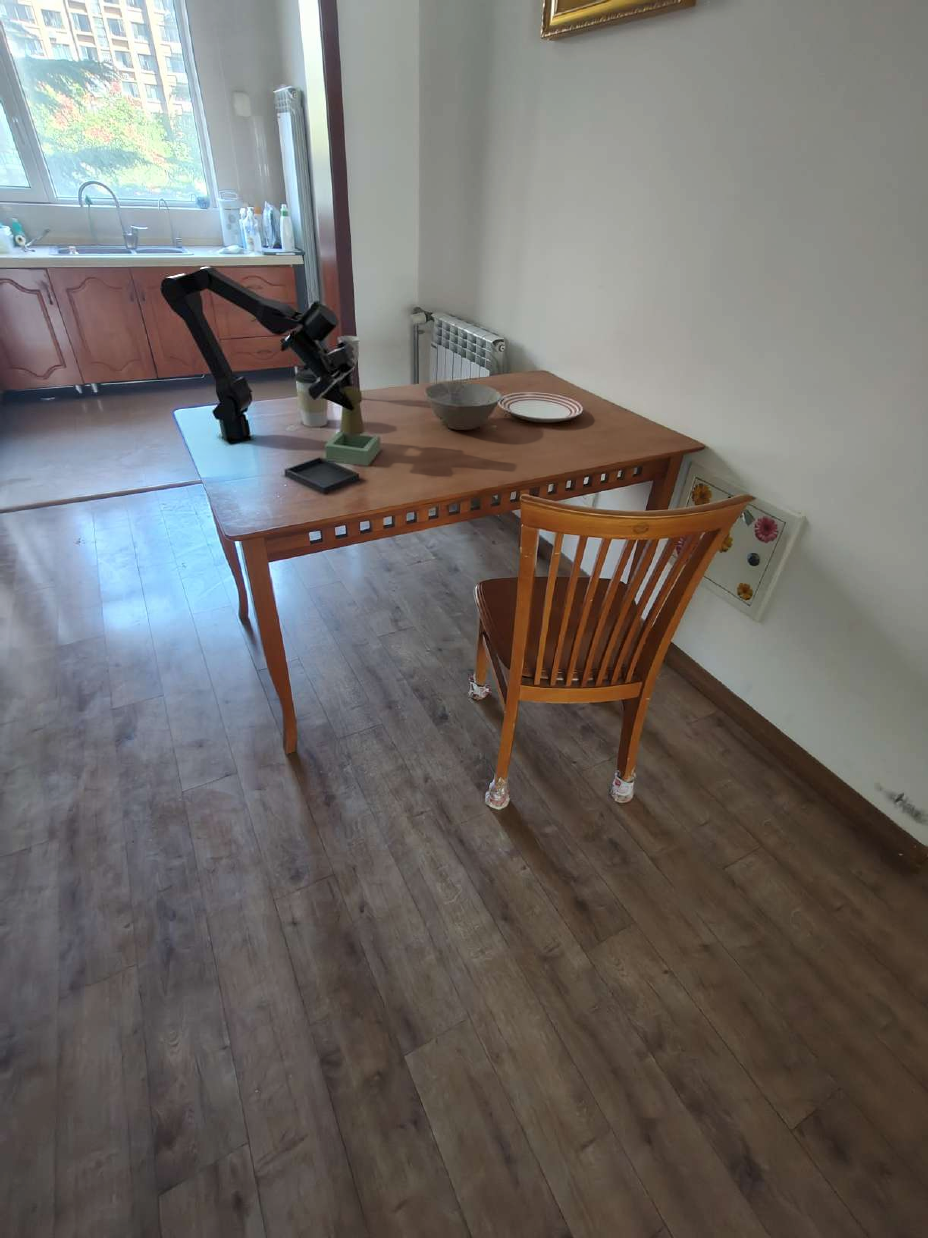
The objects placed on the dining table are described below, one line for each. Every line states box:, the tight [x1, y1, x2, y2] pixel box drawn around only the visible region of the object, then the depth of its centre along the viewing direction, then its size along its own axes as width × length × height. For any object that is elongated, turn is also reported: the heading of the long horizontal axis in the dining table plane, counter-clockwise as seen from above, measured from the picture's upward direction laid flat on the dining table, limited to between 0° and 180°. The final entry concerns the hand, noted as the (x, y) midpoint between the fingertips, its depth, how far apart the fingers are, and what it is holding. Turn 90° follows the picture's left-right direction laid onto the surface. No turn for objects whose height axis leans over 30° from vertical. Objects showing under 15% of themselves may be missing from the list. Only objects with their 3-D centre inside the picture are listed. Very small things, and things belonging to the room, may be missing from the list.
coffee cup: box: [294, 367, 329, 428], centre depth 169 cm, size 9×9×15 cm
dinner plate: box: [497, 391, 584, 424], centre depth 192 cm, size 28×27×3 cm
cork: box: [339, 385, 365, 435], centre depth 149 cm, size 6×6×11 cm
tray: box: [284, 456, 360, 495], centre depth 144 cm, size 14×11×2 cm
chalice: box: [337, 335, 360, 378], centre depth 187 cm, size 7×7×18 cm
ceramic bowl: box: [423, 381, 503, 431], centre depth 176 cm, size 22×23×10 cm
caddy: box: [324, 430, 381, 467], centre depth 155 cm, size 11×11×4 cm
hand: (356, 406), depth 149 cm, fingers closed on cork, 5 cm apart
